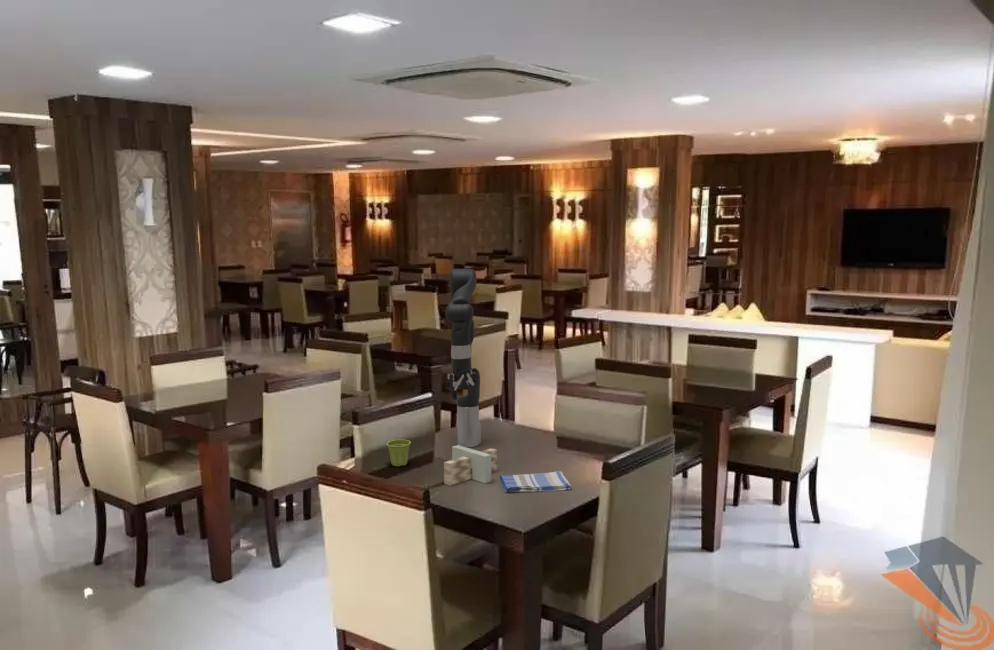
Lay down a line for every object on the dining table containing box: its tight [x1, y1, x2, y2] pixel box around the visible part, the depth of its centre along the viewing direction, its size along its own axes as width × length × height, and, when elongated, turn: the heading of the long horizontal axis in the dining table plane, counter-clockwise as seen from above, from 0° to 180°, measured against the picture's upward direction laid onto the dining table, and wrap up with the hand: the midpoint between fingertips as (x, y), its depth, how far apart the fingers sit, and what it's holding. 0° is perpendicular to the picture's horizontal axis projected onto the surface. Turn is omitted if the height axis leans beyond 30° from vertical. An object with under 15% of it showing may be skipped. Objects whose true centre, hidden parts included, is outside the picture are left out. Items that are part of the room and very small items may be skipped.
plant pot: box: [386, 439, 412, 467], centre depth 287 cm, size 9×9×9 cm
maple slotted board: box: [443, 448, 498, 486], centre depth 270 cm, size 24×3×8 cm, turn 135°
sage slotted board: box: [451, 444, 492, 484], centre depth 270 cm, size 3×18×10 cm, turn 44°
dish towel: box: [499, 470, 572, 494], centre depth 262 cm, size 17×24×3 cm
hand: (462, 397), depth 281 cm, fingers open, 8 cm apart
